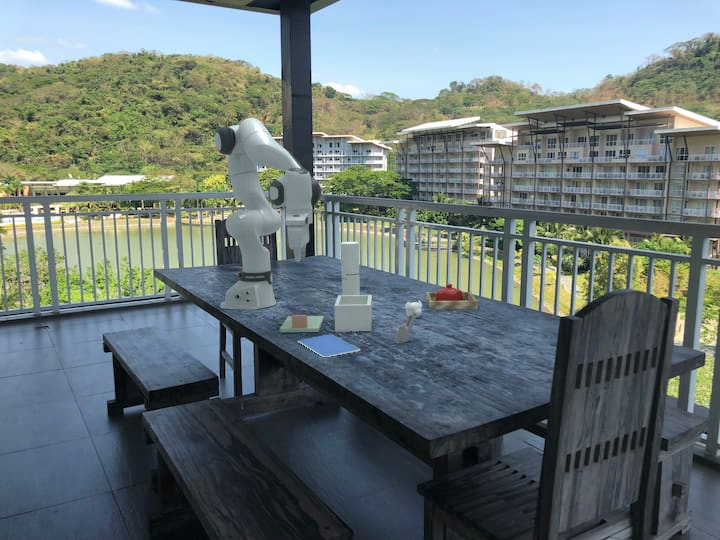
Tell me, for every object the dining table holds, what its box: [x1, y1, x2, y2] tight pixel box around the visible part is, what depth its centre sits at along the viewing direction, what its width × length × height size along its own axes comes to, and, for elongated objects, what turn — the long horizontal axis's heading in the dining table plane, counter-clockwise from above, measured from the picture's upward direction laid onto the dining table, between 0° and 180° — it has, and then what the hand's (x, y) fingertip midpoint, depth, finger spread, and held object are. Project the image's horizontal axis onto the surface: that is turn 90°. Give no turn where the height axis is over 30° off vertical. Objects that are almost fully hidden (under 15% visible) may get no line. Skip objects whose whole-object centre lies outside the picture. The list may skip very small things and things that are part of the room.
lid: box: [279, 314, 325, 333], centre depth 191 cm, size 13×17×6 cm
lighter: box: [394, 315, 417, 345], centre depth 171 cm, size 7×2×8 cm, turn 123°
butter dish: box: [434, 283, 468, 301], centre depth 219 cm, size 12×12×8 cm
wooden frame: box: [425, 291, 479, 310], centre depth 219 cm, size 18×17×3 cm
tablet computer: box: [297, 333, 361, 358], centre depth 167 cm, size 19×13×1 cm, turn 30°
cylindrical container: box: [340, 241, 361, 295], centre depth 221 cm, size 7×7×25 cm
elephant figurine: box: [404, 300, 423, 318], centre depth 200 cm, size 7×8×6 cm
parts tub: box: [333, 294, 373, 333], centre depth 190 cm, size 12×16×9 cm
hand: (300, 259), depth 184 cm, fingers open, 8 cm apart
